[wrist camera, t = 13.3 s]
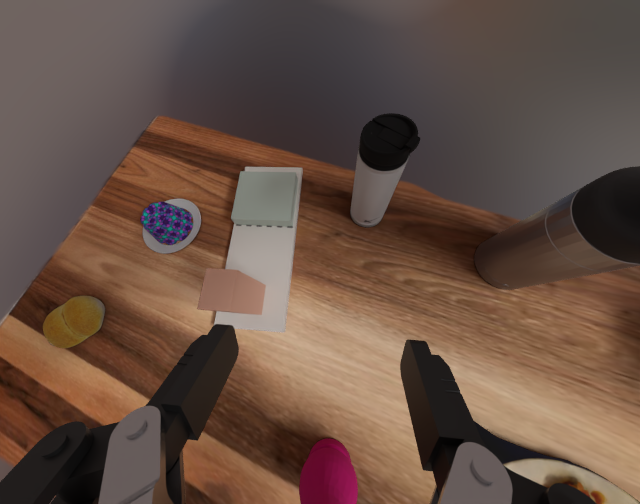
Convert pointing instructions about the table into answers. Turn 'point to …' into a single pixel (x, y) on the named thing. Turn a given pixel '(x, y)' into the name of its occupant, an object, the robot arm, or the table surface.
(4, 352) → the table surface
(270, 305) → the ticket board
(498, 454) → the plate of glazed chicken
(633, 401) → the table surface
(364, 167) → the travel mug
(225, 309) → the stub
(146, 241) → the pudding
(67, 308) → the bread roll
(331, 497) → the pepper mill
